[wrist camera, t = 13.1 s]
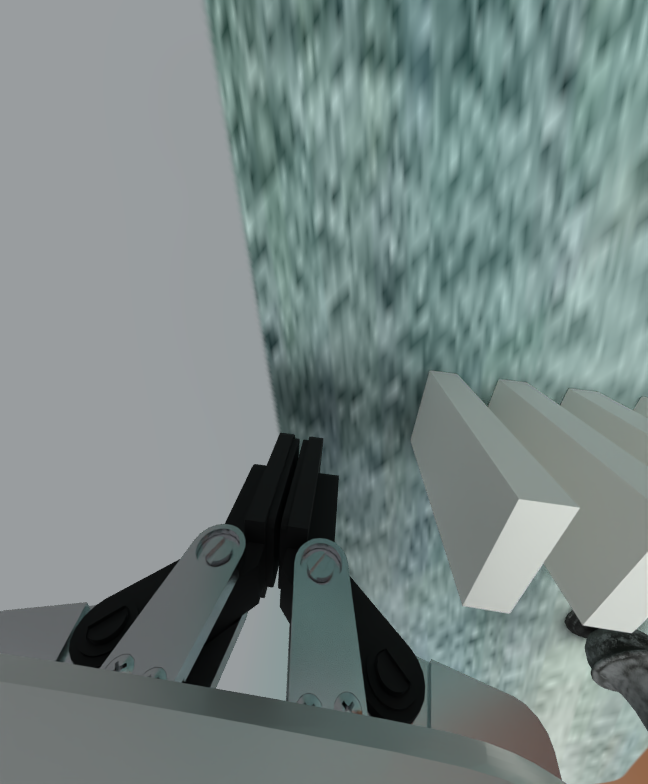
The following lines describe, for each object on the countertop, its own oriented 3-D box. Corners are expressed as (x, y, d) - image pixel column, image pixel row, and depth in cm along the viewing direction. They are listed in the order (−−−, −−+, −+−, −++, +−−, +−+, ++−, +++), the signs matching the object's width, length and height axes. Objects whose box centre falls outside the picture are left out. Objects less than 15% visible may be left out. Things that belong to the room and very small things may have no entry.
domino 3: (496, 452, 19) (631, 633, 9) (471, 448, 19) (582, 625, 10) (526, 382, 16) (738, 530, 7) (498, 378, 16) (674, 520, 7)
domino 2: (558, 460, 18) (758, 653, 9) (533, 457, 18) (707, 646, 9) (597, 391, 16) (904, 554, 7) (568, 388, 16) (837, 545, 7)
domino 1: (434, 443, 19) (509, 613, 10) (410, 440, 19) (462, 605, 10) (457, 373, 17) (580, 507, 8) (429, 370, 17) (518, 498, 8)
